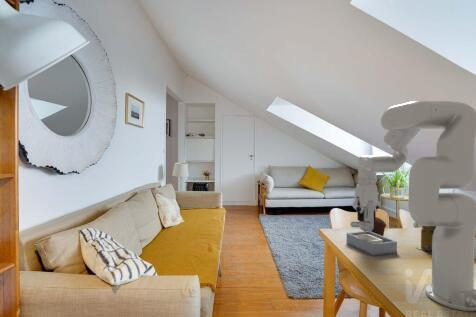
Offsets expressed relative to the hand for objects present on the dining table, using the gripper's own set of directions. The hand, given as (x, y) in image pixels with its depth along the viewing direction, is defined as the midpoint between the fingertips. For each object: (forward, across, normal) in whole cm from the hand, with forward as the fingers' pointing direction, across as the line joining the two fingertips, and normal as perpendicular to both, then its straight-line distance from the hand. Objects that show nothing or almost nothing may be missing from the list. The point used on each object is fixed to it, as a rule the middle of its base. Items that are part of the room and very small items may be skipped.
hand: (366, 219), depth 118 cm
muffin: (+13, -14, -10) cm, 22 cm away
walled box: (+12, 0, +3) cm, 13 cm away
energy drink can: (+5, 0, 0) cm, 5 cm away
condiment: (+13, -24, +13) cm, 30 cm away
